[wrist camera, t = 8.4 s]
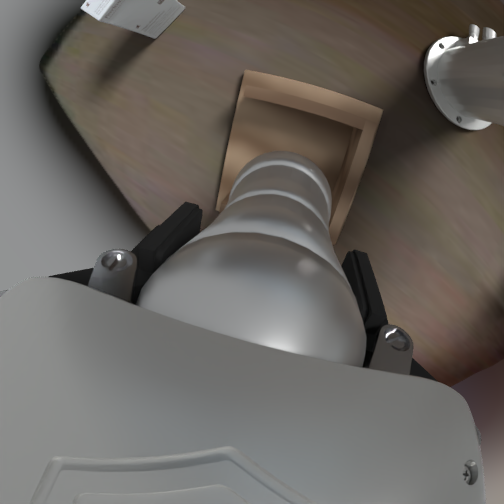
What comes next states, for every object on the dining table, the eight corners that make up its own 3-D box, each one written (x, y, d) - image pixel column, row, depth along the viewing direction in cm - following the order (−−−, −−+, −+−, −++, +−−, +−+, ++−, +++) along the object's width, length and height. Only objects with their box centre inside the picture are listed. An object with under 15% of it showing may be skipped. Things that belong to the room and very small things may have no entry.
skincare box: (156, 40, 26) (97, 24, 16) (136, 25, 25) (77, 10, 14) (188, 6, 23) (139, -25, 13) (167, -7, 22) (115, -36, 12)
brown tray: (247, 70, 27) (235, 63, 22) (380, 109, 26) (396, 111, 21) (218, 206, 36) (203, 225, 31) (334, 240, 36) (339, 264, 31)
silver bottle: (230, 218, 21) (84, 496, 4) (251, 133, 18) (-61, 411, 1) (310, 243, 21) (290, 552, 4) (341, 161, 18) (472, 542, 1)
